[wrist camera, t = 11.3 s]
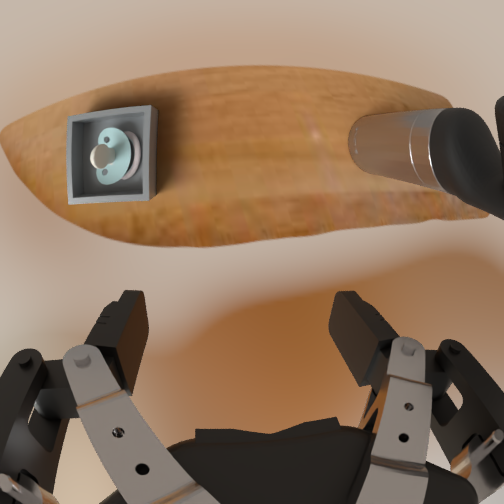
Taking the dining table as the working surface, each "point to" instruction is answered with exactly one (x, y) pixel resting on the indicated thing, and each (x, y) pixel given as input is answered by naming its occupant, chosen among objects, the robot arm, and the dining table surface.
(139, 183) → the bin
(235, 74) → the dining table surface
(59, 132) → the dining table surface
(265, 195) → the dining table surface
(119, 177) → the pacifier
